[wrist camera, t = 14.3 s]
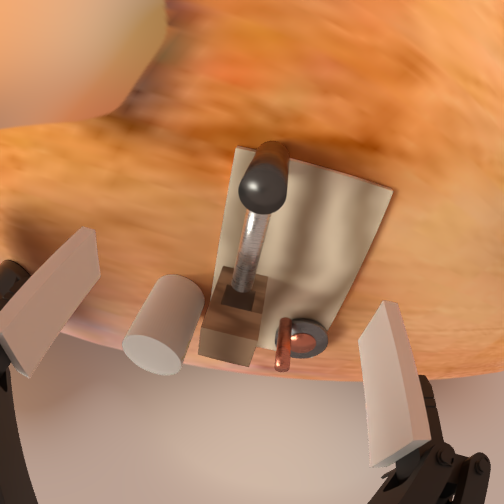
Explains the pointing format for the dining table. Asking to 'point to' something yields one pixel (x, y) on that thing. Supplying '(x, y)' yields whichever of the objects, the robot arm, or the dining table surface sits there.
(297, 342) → the handwheel
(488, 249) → the dining table surface
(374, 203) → the block
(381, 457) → the robot arm
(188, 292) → the beige solid cylinder
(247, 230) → the t-handle
